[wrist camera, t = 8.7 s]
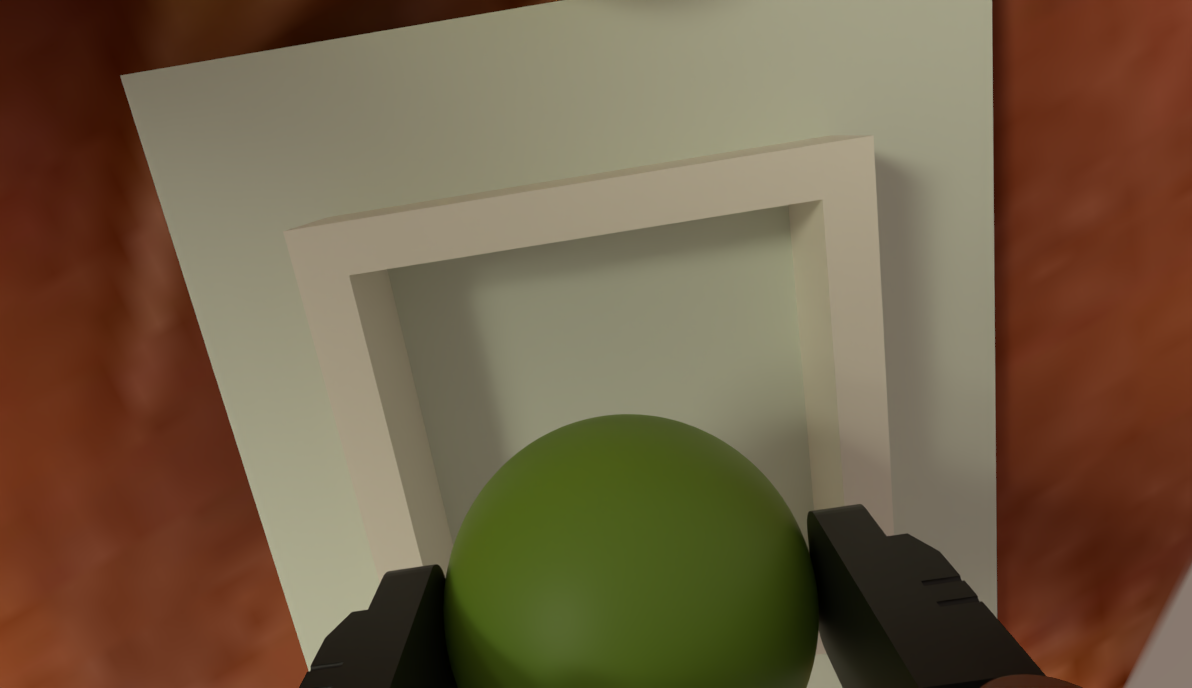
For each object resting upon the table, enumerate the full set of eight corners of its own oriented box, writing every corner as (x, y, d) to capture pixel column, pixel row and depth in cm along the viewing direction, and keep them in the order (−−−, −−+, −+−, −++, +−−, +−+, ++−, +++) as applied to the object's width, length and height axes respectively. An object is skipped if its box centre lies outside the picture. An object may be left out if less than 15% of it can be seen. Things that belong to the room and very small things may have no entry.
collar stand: (147, 79, 16) (32, 64, 13) (966, -60, 16) (1071, -114, 12) (349, 735, 21) (304, 850, 18) (978, 646, 21) (1055, 747, 17)
